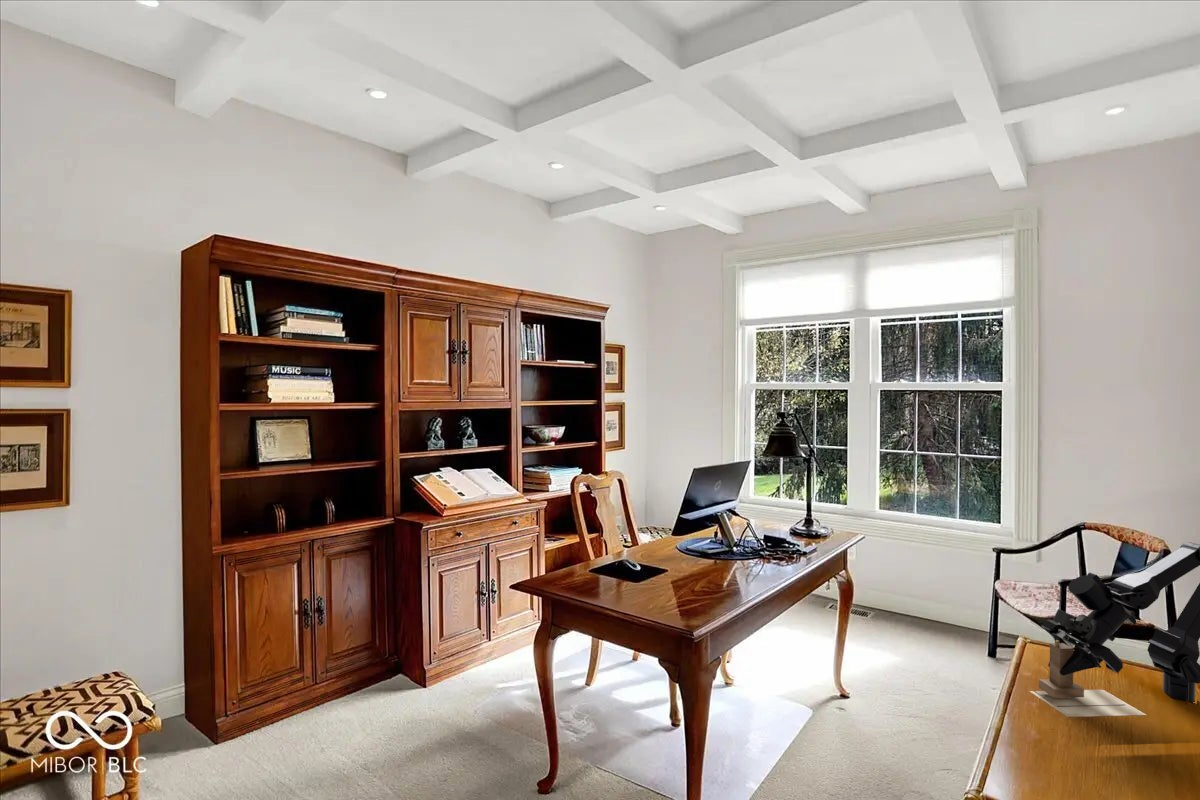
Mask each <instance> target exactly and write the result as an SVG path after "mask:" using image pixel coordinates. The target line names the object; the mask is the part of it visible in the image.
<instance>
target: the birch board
mask: <svg viewBox="0 0 1200 800" xmlns="http://www.w3.org/2000/svg"><path fill="white" fill-rule="evenodd" d="M1029 693H1031V694H1033V695H1034V696H1036V697H1037V698H1039V699H1040V700H1041V701H1043V702H1045V703H1046V704H1048V705H1049V706H1051V707H1052V708H1053V709H1055V710H1056V711H1058V712H1060V714H1062V715H1063V716H1065V717H1067V718H1078V717H1079V718H1081V717H1082V718H1083V717H1086V718H1088V717H1120V716H1121V717H1126V716H1127V717H1128V716H1147V714H1146V713H1144V712H1142V711H1141V710H1139V709H1137V708H1136V707H1134V706H1132V705H1130V704H1128V703H1127V702H1125V701H1124V700H1122V699H1120V698H1118V697H1117V696H1115V695H1113V694H1111V693H1110V692H1108V691H1107V690H1104V689H1084V697H1068V698H1054V697H1052V696H1051V695H1049V694H1048V693H1046V692H1045V691H1043V690H1029Z"/></svg>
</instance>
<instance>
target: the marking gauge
mask: <svg viewBox="0 0 1200 800" xmlns="http://www.w3.org/2000/svg"><path fill="white" fill-rule="evenodd" d="M1073 650H1074V647H1073V648H1072V647H1070V646H1068V645H1066V644H1064V643H1059V641H1058V640H1054V642H1050V643H1049V661H1050V667H1049V678H1048V679H1047V678H1043V679H1040V678H1039V679H1038V688H1039V689H1040V690H1041V691H1045V692H1046V693H1048V694H1049V695H1051V696H1052V697H1054V698H1068V697H1084V690H1085V688H1084V687H1082V686H1080V685H1078V683H1075V682H1074V673H1071V674H1067V675H1064V676H1063V675H1061V674H1060V672H1059V671H1060V670H1061V668H1062V667H1063V666H1064V665H1065V663H1066V662H1067V661H1068V660H1069V659H1070V658H1071V656H1072V655H1073Z"/></svg>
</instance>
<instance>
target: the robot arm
mask: <svg viewBox="0 0 1200 800" xmlns="http://www.w3.org/2000/svg"><path fill="white" fill-rule="evenodd" d="M1198 567H1200V544H1199V543H1195V542H1192V541H1191V542H1184V543H1182V544H1181V545H1180V547H1179V548H1177V549H1176V550H1175V551H1173V552H1171V553H1169V554H1168V555H1166V556H1165V557H1163V558H1161V559H1160V560H1158V561H1157V562H1155V563H1154V564H1152V565H1151V566H1149V567H1147V568H1146V569H1144V570H1142V571H1140V572H1135V573H1128V574H1127V573H1126V574H1125V575H1122V576H1120V577H1117V578H1115V579H1113V580H1112V581H1111V582H1103V581H1102V579H1101V578H1100V577H1099V575H1097V574H1095V573H1092V572H1088V573H1087V574H1086V575H1081V576H1078V577H1076V578H1073V579H1071V581H1070V582H1069V583H1068V589H1067V590H1068V591H1069V593H1071V594H1072V595H1073V596H1074V597H1075V598H1076V599H1077V600H1078V602H1079V603H1081V604H1082V606H1084V607H1085V608H1086V609H1087V610H1090V612H1089V614H1088V615H1085V614H1083V613H1082V614H1079V615H1078V616H1075V615H1073V614H1071V613H1068V612H1066V611H1065V610H1064V611H1063V610H1061V609H1059V608H1058V609H1057V610H1056V612H1055V615H1054V617H1053V619H1046V620H1045V621H1044V622H1043V623H1042V624H1041V627H1042V628H1043V630H1045V632H1047V633H1048V635H1050V636H1051V638H1053V639H1054V640H1053V641H1055V640H1058V641H1059V643H1064V644H1066V645H1068V646H1070V647H1072V648H1073V655H1072V656H1071V658H1070V659H1069V660H1068V661H1067V662H1066V663H1065V665H1064V666H1063V667H1062V668H1061V670H1060V671H1059V672H1060V674H1061V675H1063V676H1064V675H1067V674H1071V673H1073V674H1074V673H1077V672H1081V671H1085V670H1086V671H1087V670H1090V669H1094V668H1098V669H1100V668H1102V666H1101V663H1102V662H1103V661H1104V663H1105V667H1106V669H1108V670H1109V671H1112V672H1114V673H1115V674H1119V673H1120V672H1121V671H1122V669H1124V662H1123V661H1122V660H1121V658H1119V656H1118V655H1117V654H1116V653H1115V652H1114V651H1113V650H1112V649H1111V648H1109V647H1108V646H1105V645H1104V644H1105V643H1106V642H1107V641H1111V642H1114V640H1116V637H1115V636H1114V635H1113V634H1114V633H1115V632H1116V631H1118V630H1119V628H1120V627H1121V626H1122V625H1123V624H1124V623H1125V622H1128V623H1130V624H1132V625H1136V624H1137V618H1136V616H1135V615H1136V612H1134V611H1133V610H1130V609H1127V608H1126V607H1125V606H1128V607H1130V608H1133V609H1137V610H1141V611H1142V610H1145V609H1148V608H1149V607H1151V605H1153V604H1154V603H1155V602H1156V601H1157V600H1158V599H1159V597H1160V593H1161V591H1162V590H1163V589H1165V588H1166V587H1167V586H1169V585H1170V584H1172V583H1174V582H1176V581H1177V580H1178V579H1180V578H1183V576H1185V575H1186V574H1189V573H1190V572H1191V571H1193V570H1195V569H1196V568H1198ZM1124 605H1125V606H1124ZM1199 640H1200V582H1199V583H1198V585H1197V586H1196V588H1195V590H1194V591H1193V593H1192V594H1191V596H1190V598H1189V599H1188V601H1187V602H1186V604H1185V606H1184V607H1183V609H1182V610H1181V612H1180V614H1179V615H1178V617H1177V618H1176V621H1175V622H1174V624H1173V625H1172V627H1171V628H1168V629H1166V630H1162V629H1159V628H1158V629H1156V630H1155V631H1154V632H1153V635H1152V637H1151V638H1150V639H1149V640H1148V641H1147V642H1148V646H1147V653H1148V655H1149V657H1150V659H1151V662H1152V664H1153V667H1154V668H1156V669H1159V670H1161V671H1162V673H1163V674H1162V677H1163V678H1162V692H1163V693H1164V694H1166V695H1168V697H1169V698H1171V699H1173V700H1178V701H1181V702H1185V703H1186V702H1189V703H1191V704H1193V702H1195V697H1196V686H1197V685H1196V684H1198V685H1199V684H1200V663H1199V662H1198V660H1199V658H1200V647H1199ZM1048 668H1050V660H1049V662H1048Z"/></svg>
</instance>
